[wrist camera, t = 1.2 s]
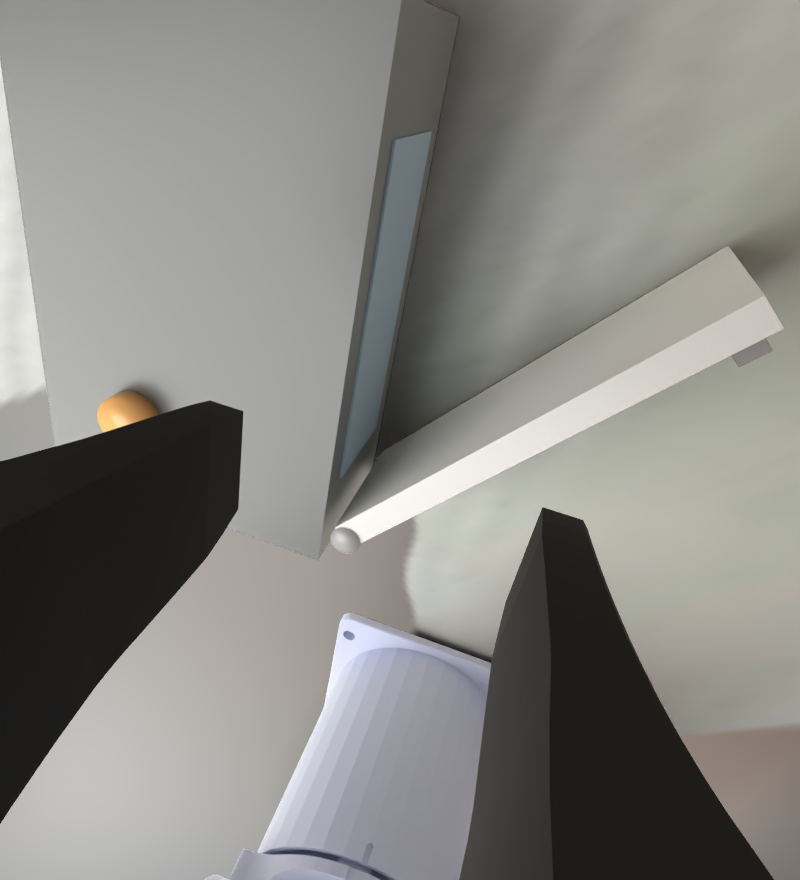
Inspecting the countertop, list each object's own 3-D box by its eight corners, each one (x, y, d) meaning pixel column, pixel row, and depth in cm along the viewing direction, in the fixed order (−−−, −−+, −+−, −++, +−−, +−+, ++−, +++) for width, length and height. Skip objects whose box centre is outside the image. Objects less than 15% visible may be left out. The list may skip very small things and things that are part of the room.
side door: (397, 486, 22) (353, 568, 19) (373, 456, 22) (323, 534, 18) (754, 290, 16) (798, 354, 12) (727, 245, 16) (764, 296, 12)
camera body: (373, 473, 23) (311, 574, 18) (153, 402, 24) (43, 477, 19) (480, -82, 14) (417, -162, 10) (133, -144, 16) (-70, -242, 11)
